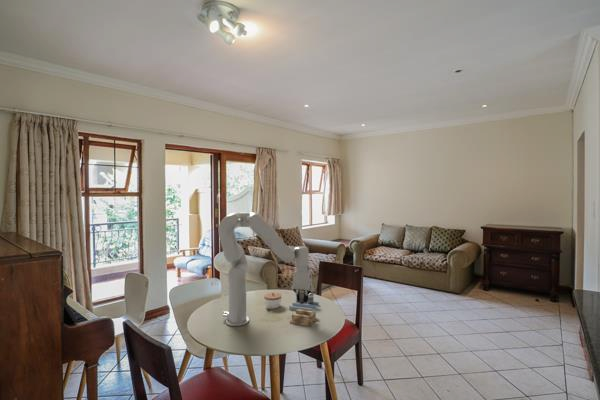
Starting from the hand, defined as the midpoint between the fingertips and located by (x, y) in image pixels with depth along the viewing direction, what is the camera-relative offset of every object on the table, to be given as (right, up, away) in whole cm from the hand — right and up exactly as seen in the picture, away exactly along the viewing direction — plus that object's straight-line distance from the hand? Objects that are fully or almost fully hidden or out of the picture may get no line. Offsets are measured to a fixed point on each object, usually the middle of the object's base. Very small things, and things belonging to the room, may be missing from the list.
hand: (302, 301), depth 165 cm
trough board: (+1, -11, +18) cm, 21 cm away
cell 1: (0, -1, 0) cm, 1 cm away
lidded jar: (-18, -11, +19) cm, 28 cm away
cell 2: (+5, -10, +19) cm, 22 cm away
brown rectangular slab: (0, -9, 0) cm, 9 cm away
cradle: (0, -11, 0) cm, 11 cm away
